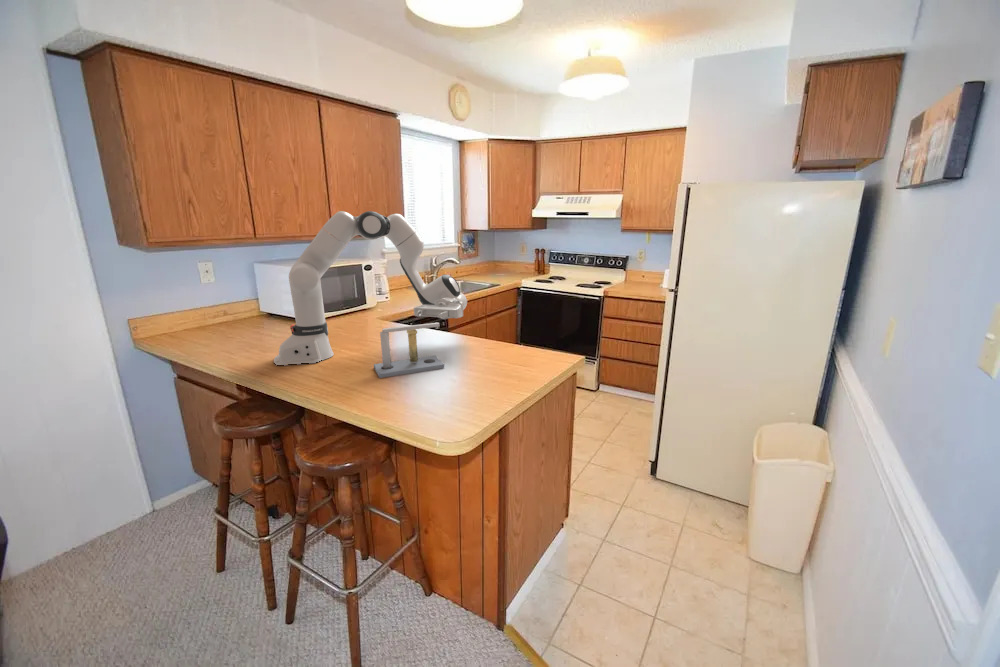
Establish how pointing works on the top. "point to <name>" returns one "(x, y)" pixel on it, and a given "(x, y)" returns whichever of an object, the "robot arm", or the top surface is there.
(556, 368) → the top surface
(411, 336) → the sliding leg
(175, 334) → the top surface
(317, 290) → the robot arm
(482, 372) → the top surface
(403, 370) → the bolt plate
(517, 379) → the top surface
